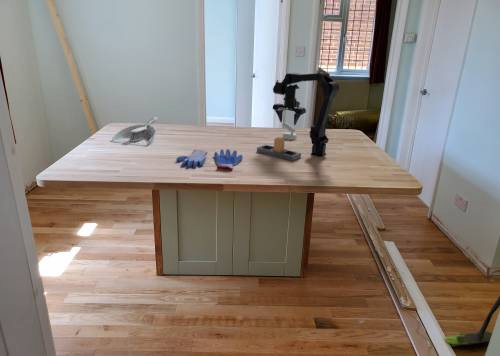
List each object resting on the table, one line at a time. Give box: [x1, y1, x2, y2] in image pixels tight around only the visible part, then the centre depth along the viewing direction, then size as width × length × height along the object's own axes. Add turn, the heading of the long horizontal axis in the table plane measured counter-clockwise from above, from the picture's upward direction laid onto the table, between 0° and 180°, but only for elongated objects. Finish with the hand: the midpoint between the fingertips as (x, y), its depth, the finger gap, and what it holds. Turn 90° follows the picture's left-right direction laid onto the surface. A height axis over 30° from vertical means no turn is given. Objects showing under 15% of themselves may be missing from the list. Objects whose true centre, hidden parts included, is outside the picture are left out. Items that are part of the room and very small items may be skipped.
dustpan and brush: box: [111, 116, 159, 147], centre depth 230 cm, size 23×33×10 cm
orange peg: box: [273, 136, 286, 153], centre depth 209 cm, size 4×4×9 cm
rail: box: [256, 144, 302, 162], centre depth 210 cm, size 23×8×2 cm, turn 54°
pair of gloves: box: [176, 148, 243, 172], centre depth 196 cm, size 32×26×4 cm
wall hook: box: [281, 121, 298, 141], centre depth 242 cm, size 9×10×10 cm
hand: (287, 123), depth 223 cm, fingers open, 9 cm apart
